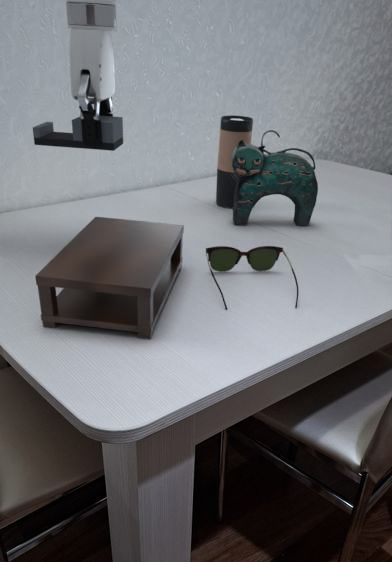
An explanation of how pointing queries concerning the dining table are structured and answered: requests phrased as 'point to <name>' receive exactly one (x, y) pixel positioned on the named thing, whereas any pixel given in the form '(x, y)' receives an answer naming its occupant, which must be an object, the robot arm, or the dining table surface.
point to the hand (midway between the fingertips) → (98, 140)
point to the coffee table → (112, 275)
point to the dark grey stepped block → (109, 128)
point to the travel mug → (230, 155)
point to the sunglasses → (256, 257)
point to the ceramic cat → (273, 180)
